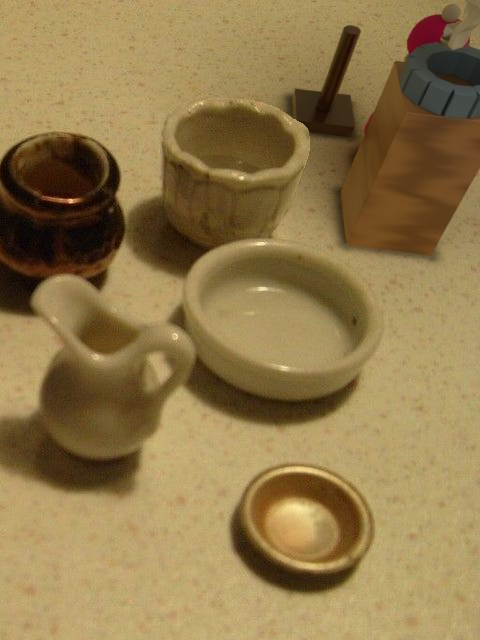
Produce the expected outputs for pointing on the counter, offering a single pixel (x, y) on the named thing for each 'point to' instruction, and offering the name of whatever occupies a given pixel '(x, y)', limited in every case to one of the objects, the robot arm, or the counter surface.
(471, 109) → the ring
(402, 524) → the counter surface
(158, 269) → the counter surface
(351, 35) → the stand
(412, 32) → the pepper mill
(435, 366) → the counter surface
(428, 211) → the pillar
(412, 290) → the counter surface
